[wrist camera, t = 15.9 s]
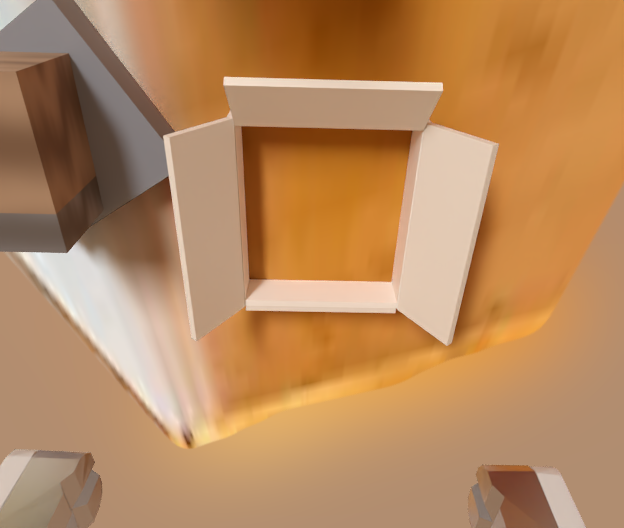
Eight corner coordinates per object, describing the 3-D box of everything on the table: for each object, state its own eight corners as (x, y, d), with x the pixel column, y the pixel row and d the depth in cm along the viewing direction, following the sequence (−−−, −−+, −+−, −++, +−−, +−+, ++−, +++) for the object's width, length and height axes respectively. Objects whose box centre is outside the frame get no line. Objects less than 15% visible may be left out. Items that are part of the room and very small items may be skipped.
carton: (185, 58, 36) (153, 80, 29) (473, 66, 36) (513, 90, 29) (209, 288, 47) (191, 346, 40) (429, 292, 48) (451, 351, 40)
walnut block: (-4, 51, 33) (-74, 69, 27) (68, 53, 33) (15, 71, 27) (42, 208, 39) (-5, 251, 33) (103, 209, 39) (67, 252, 33)
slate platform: (65, -10, 34) (45, -9, 31) (191, 153, 40) (183, 166, 37) (-61, 97, 37) (-88, 106, 35) (72, 231, 44) (57, 247, 41)
